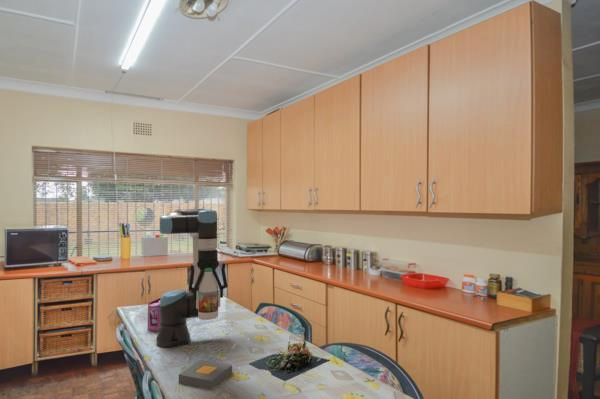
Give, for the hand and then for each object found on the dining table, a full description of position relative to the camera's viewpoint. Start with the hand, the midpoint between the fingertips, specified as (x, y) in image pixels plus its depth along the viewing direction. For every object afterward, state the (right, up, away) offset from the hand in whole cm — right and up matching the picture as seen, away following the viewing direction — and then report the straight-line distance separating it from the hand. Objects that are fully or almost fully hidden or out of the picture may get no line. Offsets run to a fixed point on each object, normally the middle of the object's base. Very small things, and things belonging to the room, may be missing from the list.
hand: (208, 306), depth 159 cm
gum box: (-35, -24, +55) cm, 70 cm away
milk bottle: (0, -4, 0) cm, 4 cm away
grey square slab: (+1, -24, -9) cm, 26 cm away
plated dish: (+33, -25, +6) cm, 42 cm away
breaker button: (+1, -23, -9) cm, 25 cm away
